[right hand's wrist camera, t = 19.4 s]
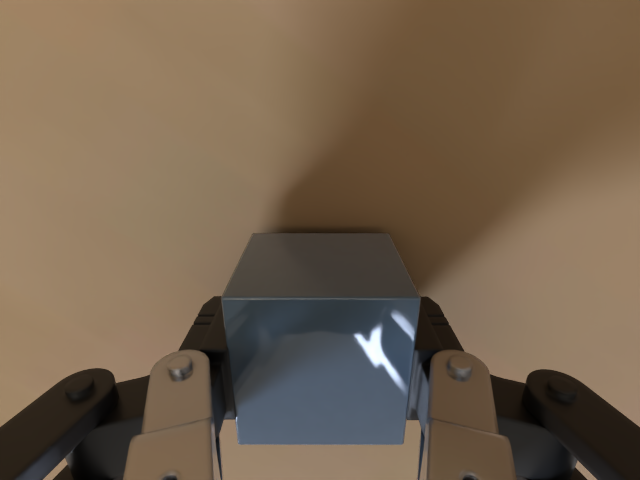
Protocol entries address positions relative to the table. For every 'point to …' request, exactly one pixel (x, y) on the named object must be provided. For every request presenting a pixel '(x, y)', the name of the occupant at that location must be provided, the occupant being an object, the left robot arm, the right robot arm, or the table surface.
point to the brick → (320, 339)
